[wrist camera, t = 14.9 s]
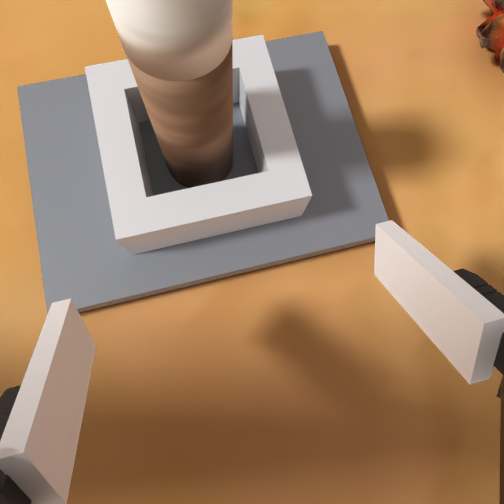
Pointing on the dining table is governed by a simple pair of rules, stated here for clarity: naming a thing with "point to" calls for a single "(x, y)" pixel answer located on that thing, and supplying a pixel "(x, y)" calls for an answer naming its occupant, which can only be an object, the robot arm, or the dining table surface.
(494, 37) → the dragon fruit
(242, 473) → the dining table surface
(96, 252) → the socket board
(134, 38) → the cream round-topped cylinder
